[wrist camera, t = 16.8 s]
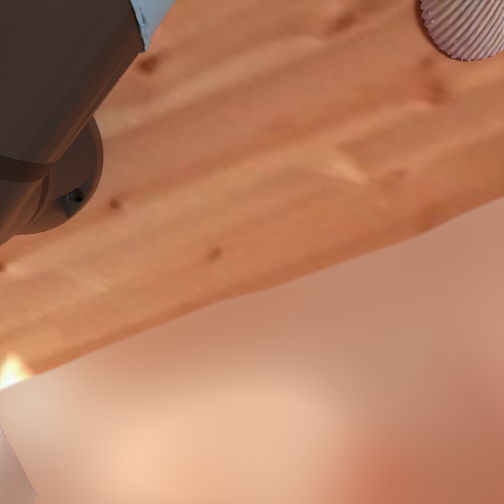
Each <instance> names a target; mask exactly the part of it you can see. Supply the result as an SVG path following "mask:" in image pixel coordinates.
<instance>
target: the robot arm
mask: <svg viewBox="0 0 504 504" xmlns="http://www.w3.org/2000/svg"><path fill="white" fill-rule="evenodd" d="M174 2H175V0H0V246H1V245H2V244H4V243H5V242H6V241H8V240H9V239H10V238H12V237H13V236H14V235H24V234H34V233H40V232H44V231H47V230H50V229H52V228H55V227H57V226H59V225H61V224H63V223H65V222H66V221H68V220H69V219H70V218H72V217H73V216H74V215H75V214H76V213H78V212H79V211H80V210H81V209H82V208H83V207H84V206H85V205H86V204H87V202H88V201H89V200H90V199H91V197H92V196H93V194H94V192H95V190H96V188H97V186H98V183H99V181H100V177H101V173H102V167H103V147H102V140H101V136H100V132H99V129H98V126H97V124H96V121H95V119H94V117H93V114H94V113H95V111H96V110H97V109H98V107H99V106H100V105H101V103H102V102H103V101H104V99H105V98H106V97H107V95H108V94H109V93H110V91H111V90H112V89H113V87H114V86H115V85H116V83H117V82H118V81H119V79H120V78H121V77H122V75H123V74H124V73H125V71H126V70H127V69H128V67H129V66H130V65H131V64H132V62H133V61H134V60H135V58H136V57H137V56H138V54H139V53H144V52H145V51H146V50H147V49H148V48H149V47H148V46H149V44H150V42H151V36H152V35H153V33H154V32H155V30H156V29H157V27H158V26H159V24H160V23H161V22H162V20H163V19H164V17H165V16H166V14H167V13H168V11H169V10H170V8H171V7H172V5H173V4H174ZM36 496H37V494H36V493H35V491H34V489H33V487H32V485H31V483H30V481H29V479H28V477H27V475H26V474H25V472H24V470H23V468H22V466H21V464H20V462H19V460H18V458H17V456H16V454H15V452H14V450H13V449H12V446H11V445H10V443H9V441H8V439H7V437H6V435H5V433H4V431H3V429H2V428H1V425H0V504H33V502H34V500H35V498H36Z"/></svg>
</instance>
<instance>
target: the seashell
mask: <svg viewBox="0 0 504 504" xmlns="http://www.w3.org/2000/svg"><path fill="white" fill-rule="evenodd" d="M420 1H422V4H421V6H420V9H422V10H423V12H422V14H421V16H422V19H424V20H425V22H424V24H425V27H426V28H428V31H427V32H429V36H431V37H432V39H434V42H433V43H435V44H437V45H438V46H439V49H441V50H442V51H443V50H445V52H446V53H447V54H448V55H449V54H451V58H456V57H458V58H460V59H461V60H463V59H465V60H468V61H470V60H471V59H473V60H478V59H480V58H482V59H485V58H486V57H488V56H492V57H493V56H494V55H495V54H497V53H499V52H501V51H502V50H504V0H420Z"/></svg>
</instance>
